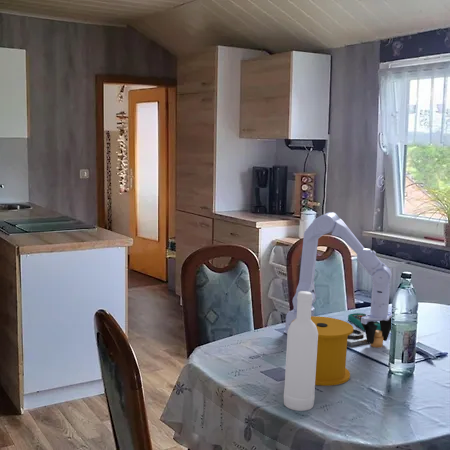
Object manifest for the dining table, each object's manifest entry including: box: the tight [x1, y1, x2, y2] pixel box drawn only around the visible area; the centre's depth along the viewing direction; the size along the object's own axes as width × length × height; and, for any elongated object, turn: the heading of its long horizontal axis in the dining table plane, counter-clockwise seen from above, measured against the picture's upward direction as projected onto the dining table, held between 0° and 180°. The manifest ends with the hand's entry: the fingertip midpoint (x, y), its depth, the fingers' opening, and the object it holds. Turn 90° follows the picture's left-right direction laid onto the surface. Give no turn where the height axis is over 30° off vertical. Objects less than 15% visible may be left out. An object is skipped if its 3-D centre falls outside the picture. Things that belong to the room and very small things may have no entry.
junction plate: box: [347, 327, 369, 347], centre depth 217 cm, size 12×12×2 cm
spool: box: [291, 315, 354, 387], centre depth 183 cm, size 18×18×15 cm
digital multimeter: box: [347, 312, 381, 332], centre depth 234 cm, size 7×15×3 cm, turn 14°
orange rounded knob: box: [370, 330, 384, 349], centre depth 210 cm, size 4×4×5 cm
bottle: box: [283, 291, 318, 412], centre depth 160 cm, size 8×8×30 cm
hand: (376, 341), depth 211 cm, fingers open, 6 cm apart
